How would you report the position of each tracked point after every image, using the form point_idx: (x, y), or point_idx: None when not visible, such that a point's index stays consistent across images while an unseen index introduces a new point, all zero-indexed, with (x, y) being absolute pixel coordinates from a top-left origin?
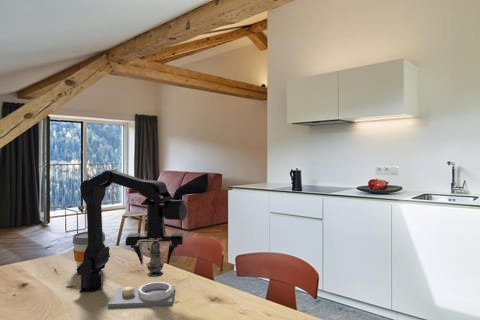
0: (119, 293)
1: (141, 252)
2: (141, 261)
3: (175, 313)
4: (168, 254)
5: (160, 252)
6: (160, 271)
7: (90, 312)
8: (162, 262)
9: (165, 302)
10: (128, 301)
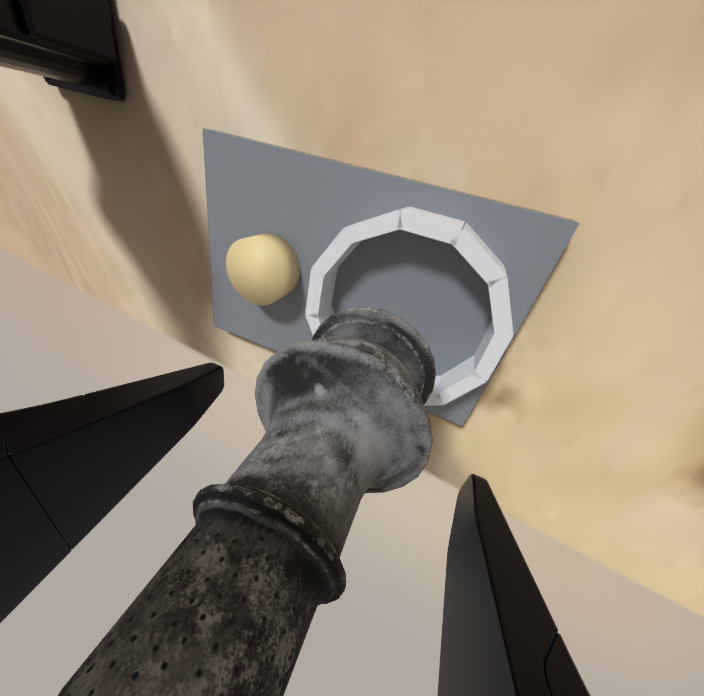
0: (230, 228)
1: (89, 487)
2: (190, 419)
3: (455, 474)
4: (445, 684)
5: (337, 592)
6: (414, 367)
7: (184, 328)
8: (414, 440)
9: (434, 411)
10: (282, 337)
